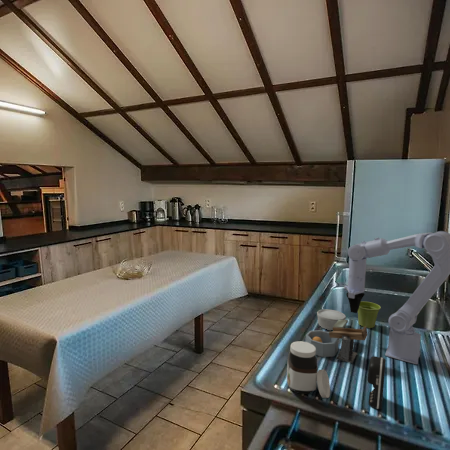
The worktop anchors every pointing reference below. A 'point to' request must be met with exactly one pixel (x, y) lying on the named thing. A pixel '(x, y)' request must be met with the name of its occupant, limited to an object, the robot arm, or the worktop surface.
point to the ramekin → (329, 318)
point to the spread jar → (306, 370)
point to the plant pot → (368, 314)
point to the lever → (347, 331)
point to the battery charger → (376, 381)
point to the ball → (317, 339)
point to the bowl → (323, 343)
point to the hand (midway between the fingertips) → (354, 312)
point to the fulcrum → (347, 350)
